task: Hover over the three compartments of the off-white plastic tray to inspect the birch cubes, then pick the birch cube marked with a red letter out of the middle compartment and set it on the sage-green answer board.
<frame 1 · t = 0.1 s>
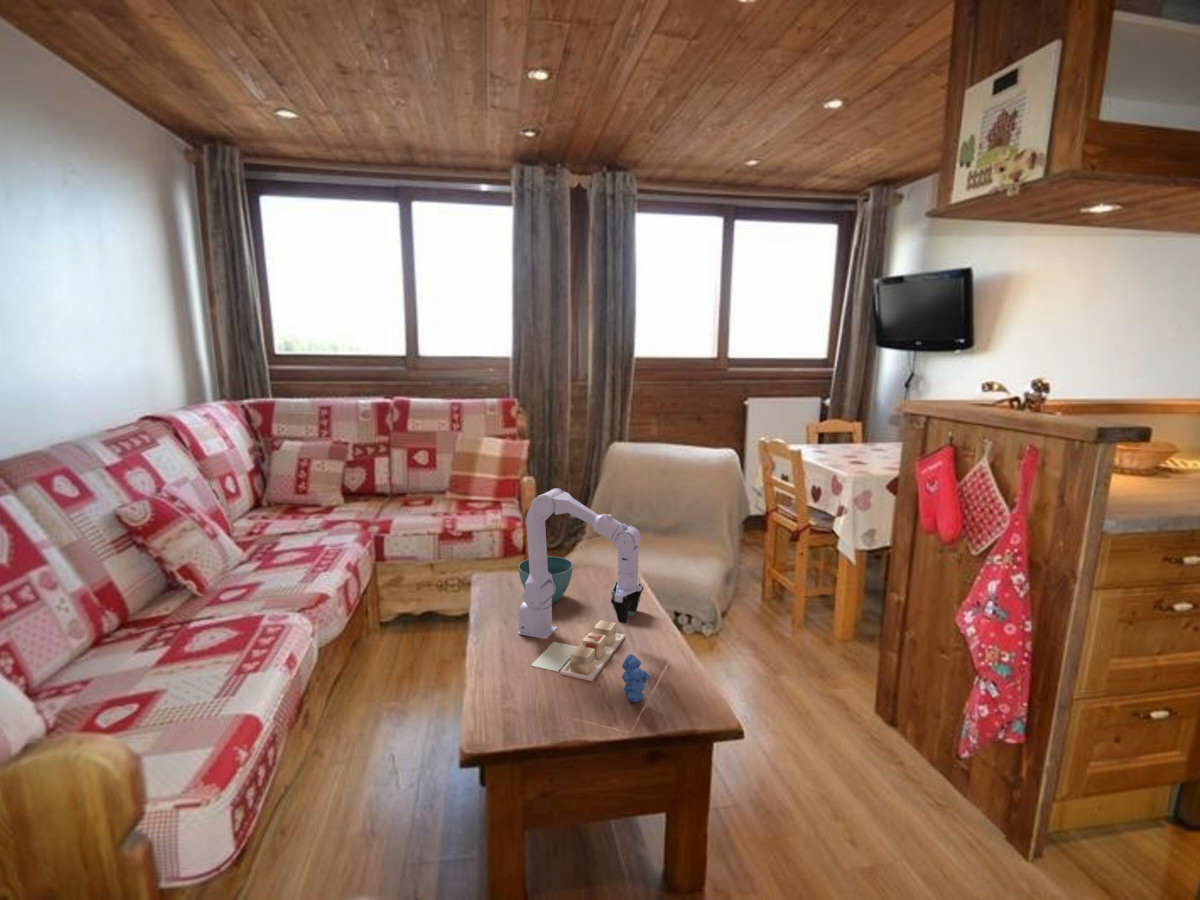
hand: (627, 616, 168), 10 cm above the table, tool pointing down, fingers open, 7 cm apart
answer board: (555, 657, 165), on the table
plain cube far: (605, 641, 173), resting on sorting tray
teal round bowl: (546, 599, 203), on the table
grapes: (636, 701, 145), on the table
flower pot: (626, 614, 193), on the table
lettered cube: (594, 654, 166), resting on sorting tray
plain cube near: (582, 669, 158), resting on sorting tray
sorting tray: (594, 655, 166), on the table
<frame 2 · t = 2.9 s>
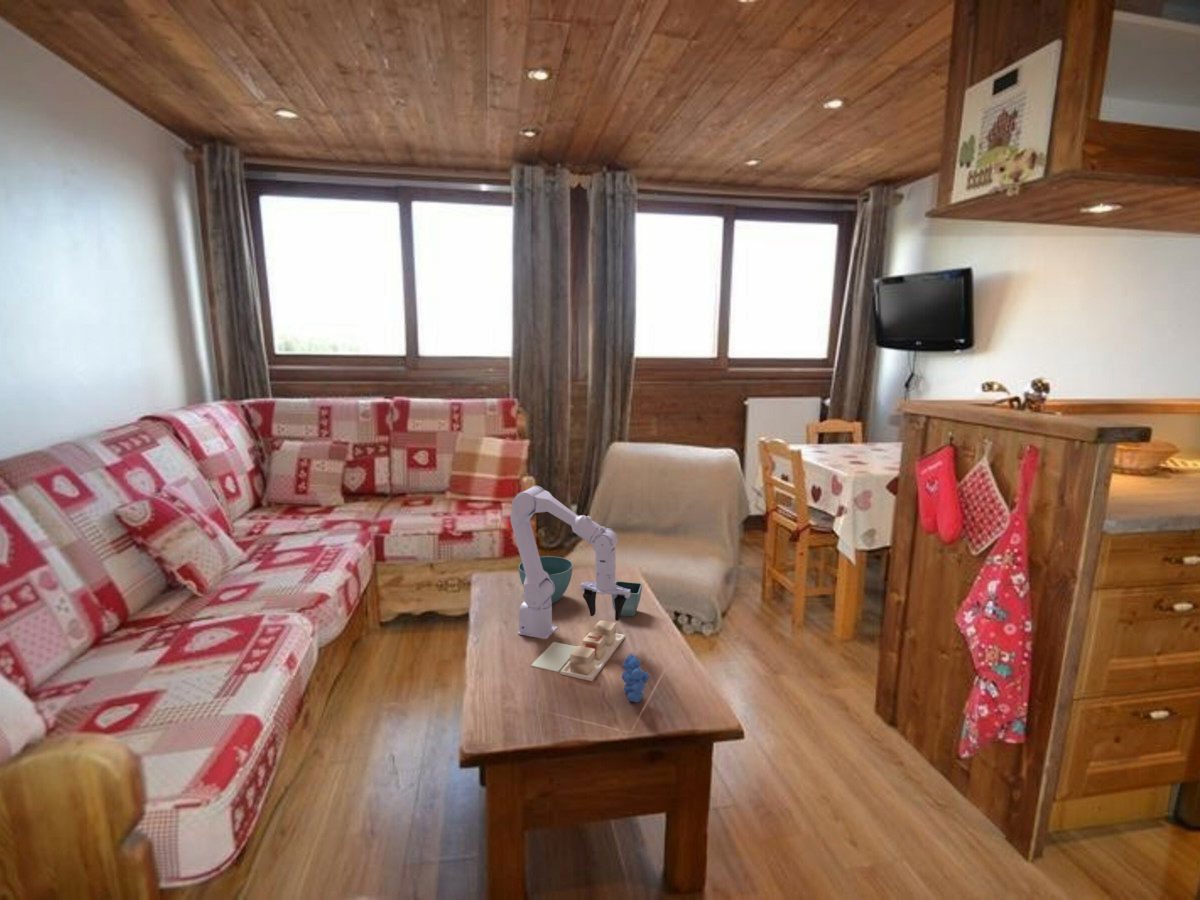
hand: (605, 617, 172), 8 cm above the table, tool pointing down, fingers open, 7 cm apart
nothing on the table moved.
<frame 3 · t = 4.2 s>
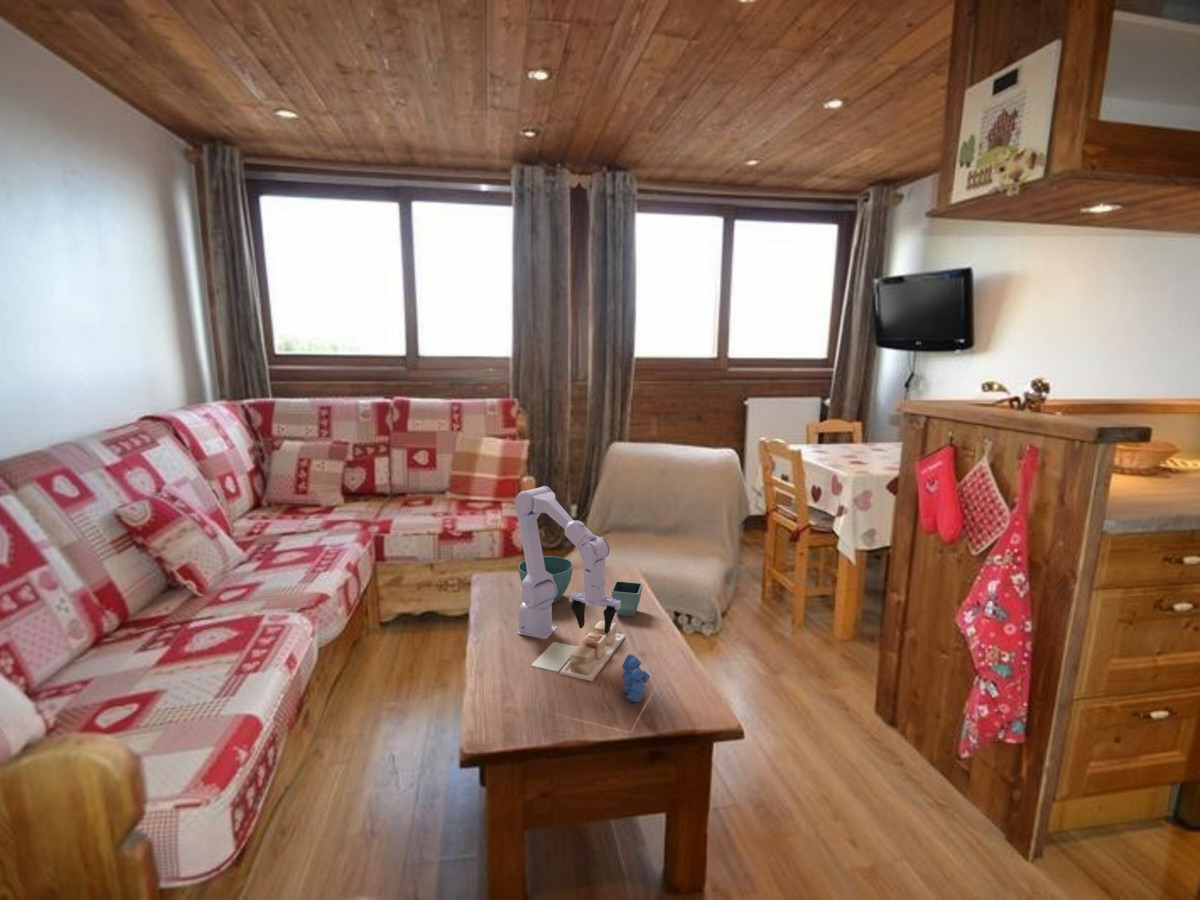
hand: (594, 629, 165), 8 cm above the table, tool pointing down, fingers open, 7 cm apart
nothing on the table moved.
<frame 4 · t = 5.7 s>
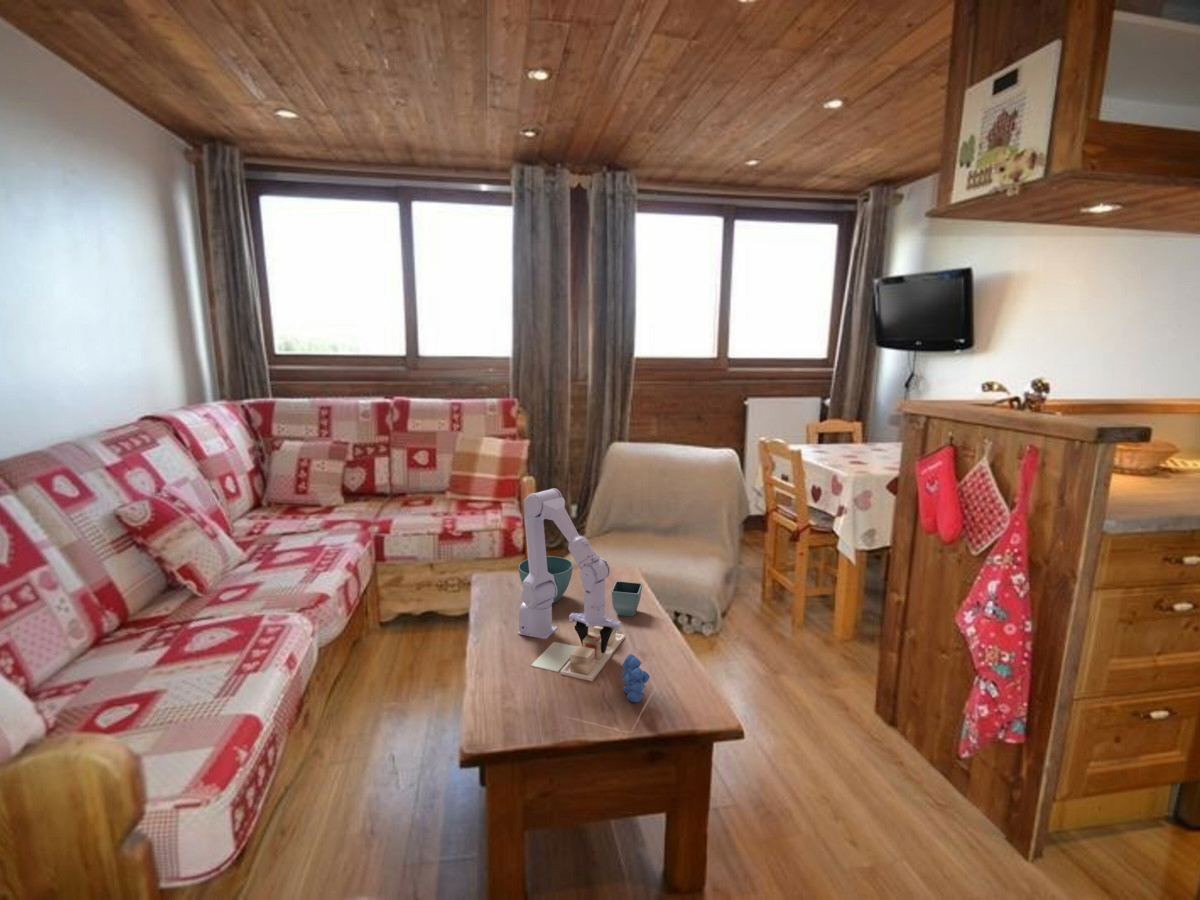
hand: (594, 649, 166), 2 cm above the table, tool pointing down, fingers closed on lettered cube, 5 cm apart
lettered cube: (594, 654, 166), resting on sorting tray, touching gripper
everything else where it was.
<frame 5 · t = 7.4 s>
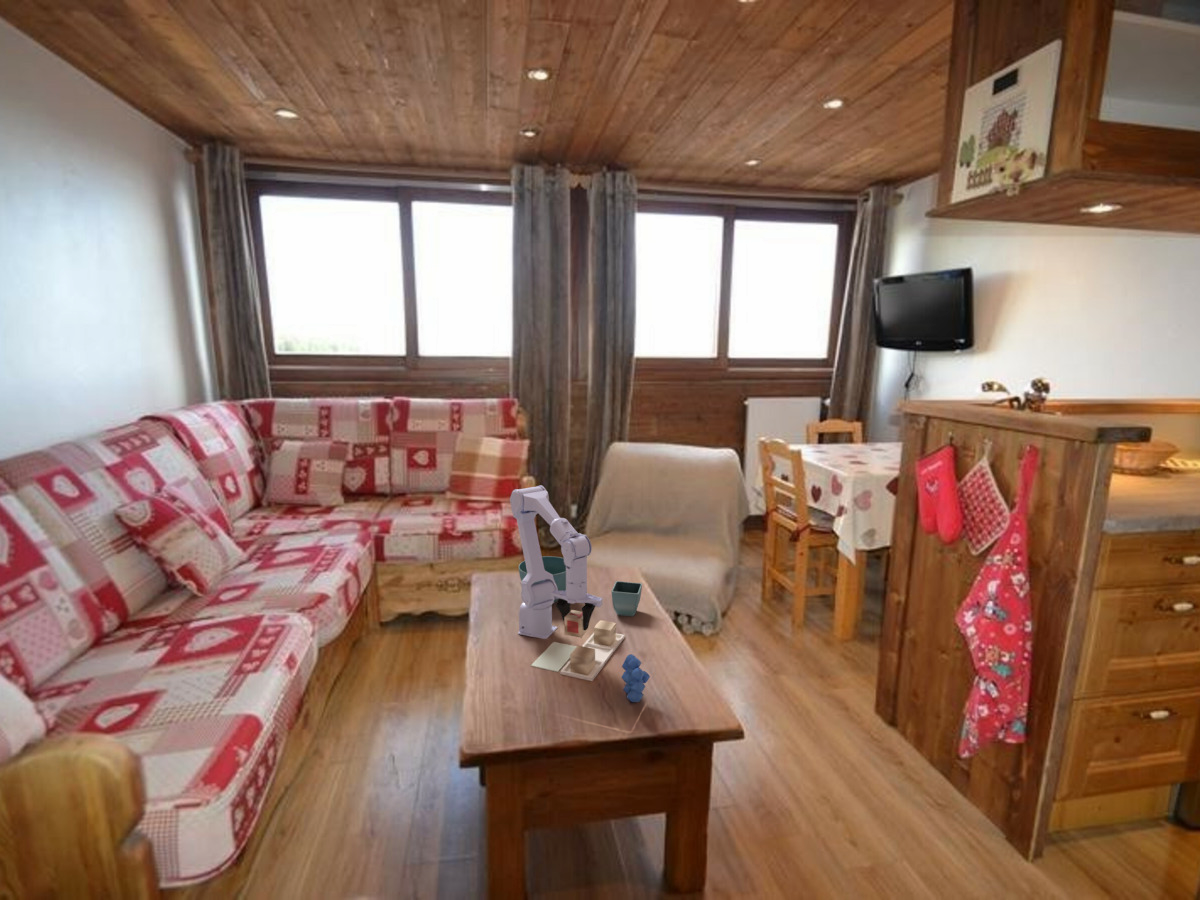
hand: (576, 626, 164), 9 cm above the table, tool pointing down, fingers closed on lettered cube, 5 cm apart
lettered cube: (576, 632, 164), point 7 cm above the table, touching gripper
everything else where it was.
when the fingers open (3 cm above the table, at t = 9.3 s): lettered cube drops 1 cm, resting on answer board.
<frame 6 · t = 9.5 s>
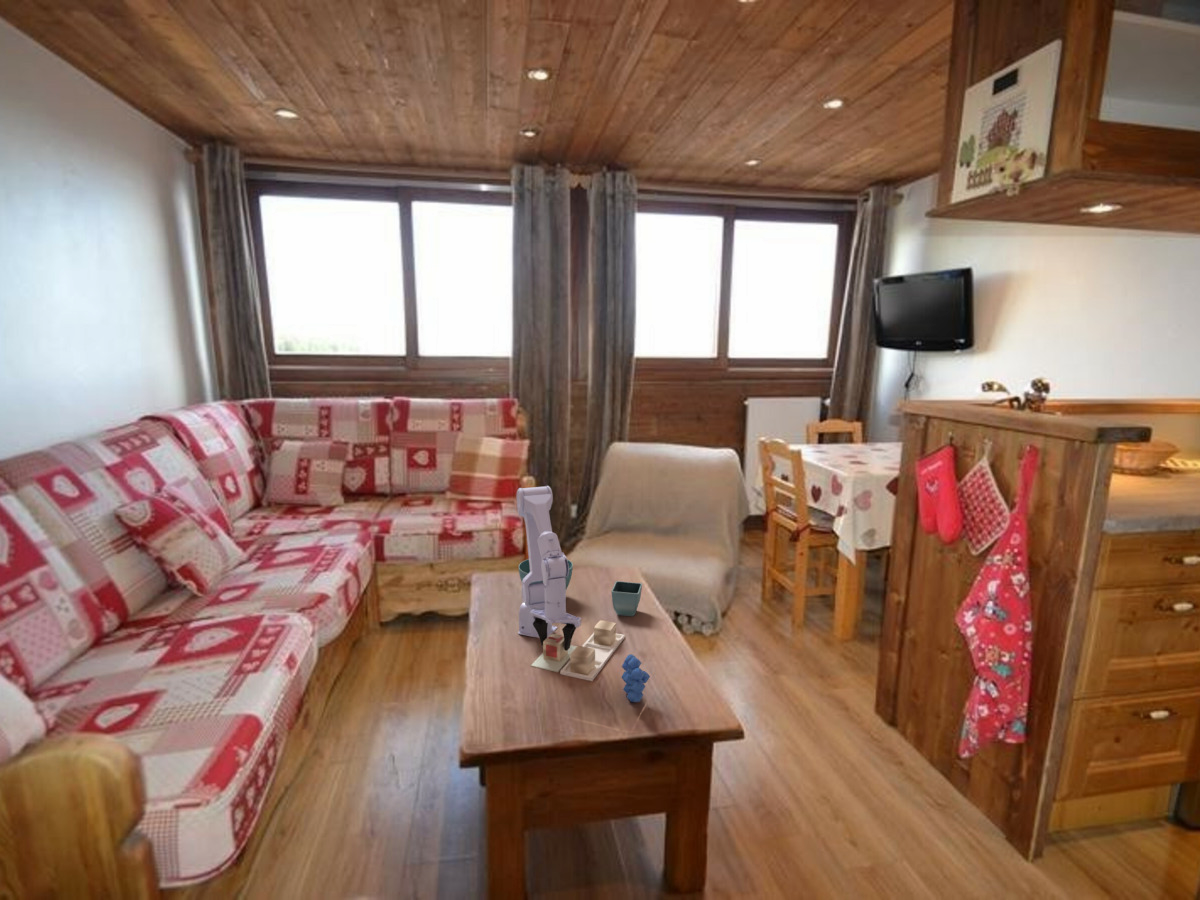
hand: (555, 646, 164), 3 cm above the table, tool pointing down, fingers open, 6 cm apart
lettered cube: (555, 655, 165), point 1 cm above the table, touching answer board
everything else where it was.
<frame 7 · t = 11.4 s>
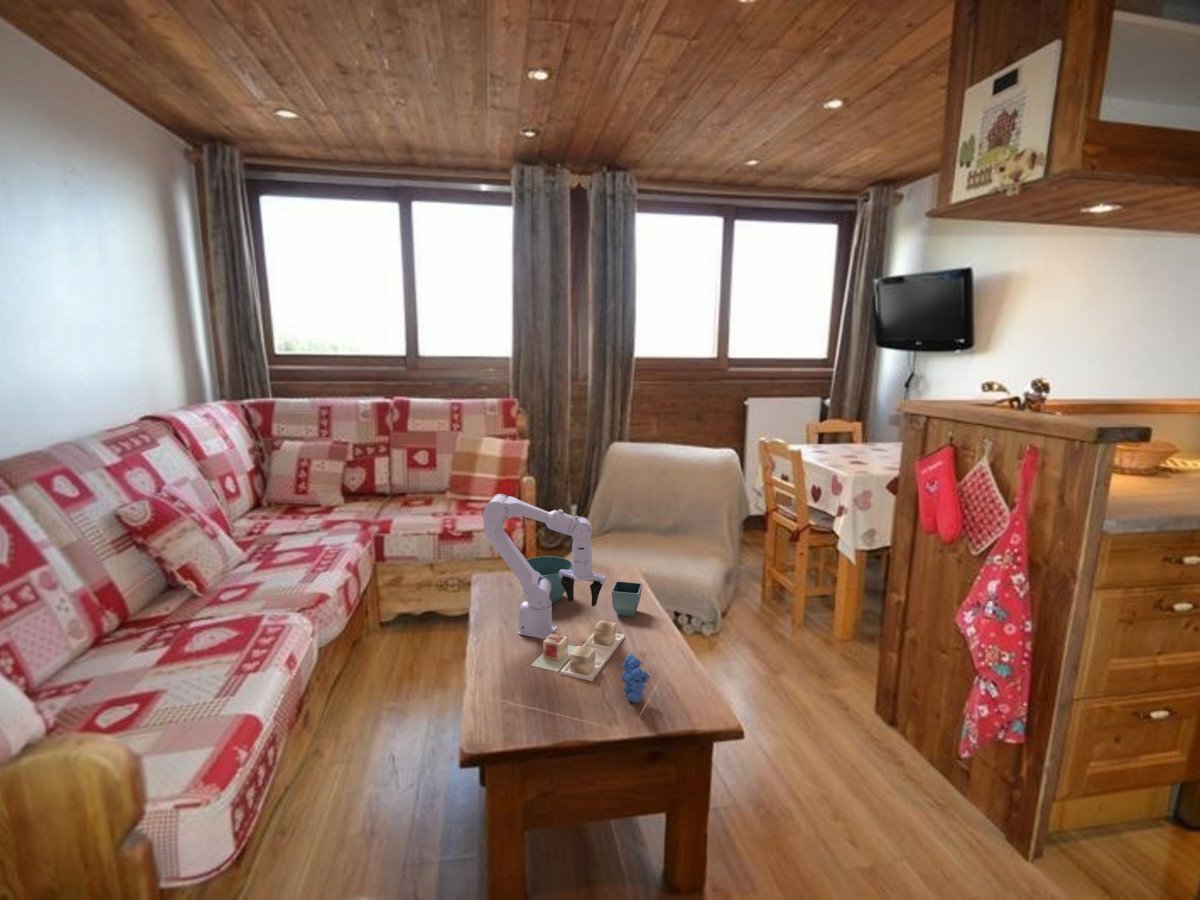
hand: (582, 602, 178), 9 cm above the table, tool pointing down, fingers open, 7 cm apart
nothing on the table moved.
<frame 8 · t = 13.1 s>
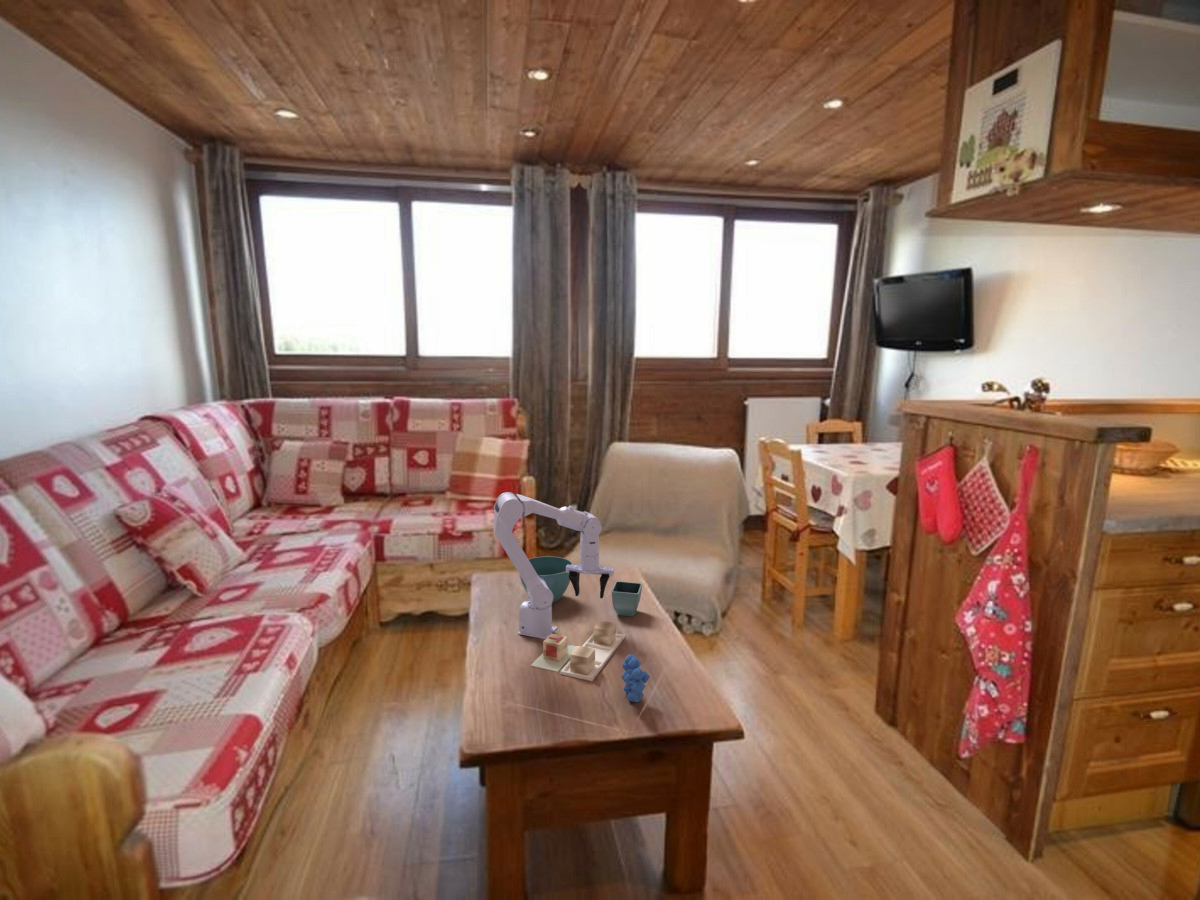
hand: (589, 596, 183), 9 cm above the table, tool pointing down, fingers open, 7 cm apart
nothing on the table moved.
at the end: lettered cube inside the target area on the answer board (0.1 cm from its centre), point 0.6 cm above the answer board's base; lettered cube tilted 0°; the gripper is holding nothing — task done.
